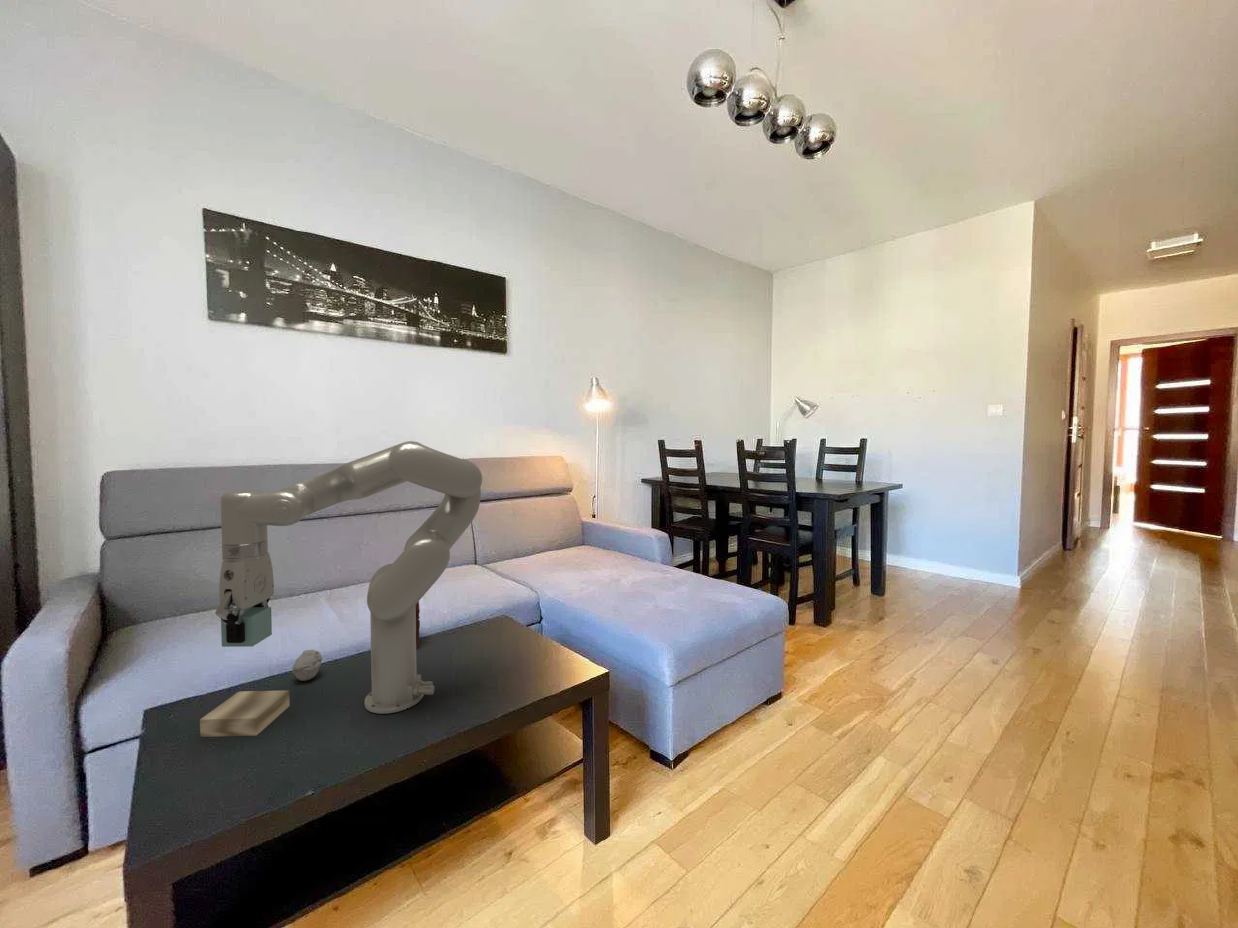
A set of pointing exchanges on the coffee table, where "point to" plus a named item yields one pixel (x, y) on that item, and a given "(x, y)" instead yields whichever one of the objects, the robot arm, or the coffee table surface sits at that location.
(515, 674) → the coffee table surface
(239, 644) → the teal cube
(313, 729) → the coffee table surface
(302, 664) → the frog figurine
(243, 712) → the birch block
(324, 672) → the coffee table surface
